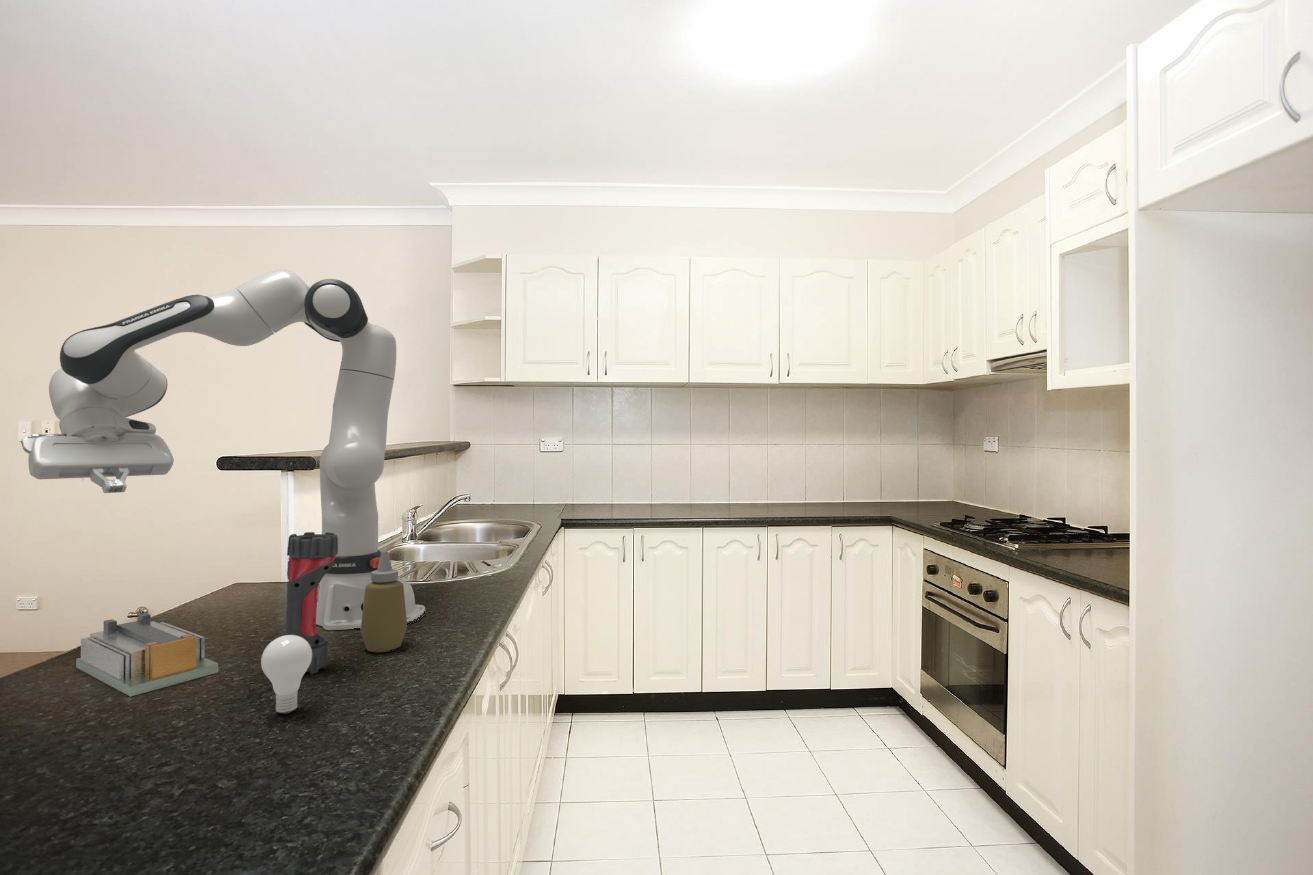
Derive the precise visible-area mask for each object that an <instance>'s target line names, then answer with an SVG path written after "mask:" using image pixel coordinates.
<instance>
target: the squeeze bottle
mask: <svg viewBox="0 0 1313 875" xmlns="http://www.w3.org/2000/svg"><path fill="white" fill-rule="evenodd" d="M380 552H381V556H380V561H379V565H378V569H377V570H375V571H372V572H371V581H372V582H371V583H369V584H368V585H367V586H366V588H365V596H364V605H363V614H362V622H361V628H360V634H361V637H362V641H363V643H364V645H365V648H366V650H367V651H368V652H370V653H387V652H391V651H390V650H392V649H395V650H397V649H396V648H398V647H399V648H401V646H402V643H403V640H404V637H405V634H406V631H407V628H408V625H407V617H406V607H405V597H404V587H403V583H401V582H400V581H398V580H397V579H398V576H399V570H398V569H397V568H396V569H394V568H393V567H392V566H393V565H392V562H391V558H390V552H389V551H388V550H383V551H380ZM399 648H398V649H399ZM392 651H393V650H392Z"/></svg>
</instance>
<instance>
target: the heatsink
mask: <svg viewBox="0 0 1313 875" xmlns="http://www.w3.org/2000/svg"><path fill="white" fill-rule="evenodd" d="M151 617H152V615H151V614H149V613H147V612H145V613H138V614H137V621H140V622H142V623H145V624H147V625H150V626H152V627H155V628H157V629H160V630H162V631H165V632H167V633H170V634H172V635H175V636H177V637H180V638H182V639H178V640H174V641H170V642H165V643H161V644H159V643H156V642H150V643H144V642H141V641H139V640H137V639H134V638H132V637H130V636H128V635H125V634H123V633H121V632H118V631H117V625H118V621H117V620H115V619H113V618H111V619H105V620H103V630H102V631H98V632H92V633H90V634H89V636H88V637H86V638H85V637H82V638H80V657H78V658H76V659H75V662H76V663H75V664H76V666H75V668H76V669H78V670H80V671H82V672H84V673H86V674H87V675H89V676H90V677H92V678H95V679H97V680H99V681H100V682H102V683H104V684H106V685H108V686H110V687H111V688H113V689H116V690H117V691H119V692H121V693H123V694H125V695H127V696H129V697H133V696H138V695H142V694H145V693H149V692H152V691H156V690H160V689H163V688H166V687H170V686H174V685H178V684H181V683H182V684H183V683H186V682H189V681H192V680H196V679H199V678H203V677H206V676H209V675H215V674H218V673H219V663H218V662H217V661H213V660H212V659H208V658H206V657H205V655H206V653H205V650H206V649H205V648H206V647H205V646H206V644H205V642H206V640H205V639H206V637H205V636H202V635H200V634H196V633H194V632H191V631H189V630H185V629H183V628H180V627H179V626H175V625H172V624H170V623H166V622H164V621H162V622H156V621H154V620H153V621H151V619H152V618H151ZM83 646H84V647H83Z"/></svg>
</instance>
